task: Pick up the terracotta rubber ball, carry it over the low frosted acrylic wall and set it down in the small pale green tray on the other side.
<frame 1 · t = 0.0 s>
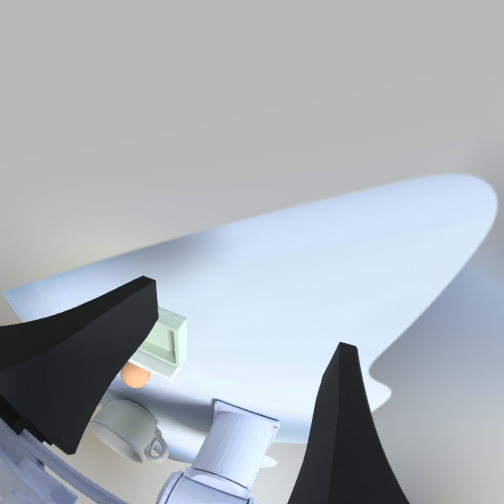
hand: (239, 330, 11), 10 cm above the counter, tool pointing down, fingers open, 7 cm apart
teacup: (147, 413, 44), on the counter
ball: (135, 373, 33), point 2 cm above the counter
tray: (161, 328, 30), on the counter
wall: (156, 347, 32), on the counter
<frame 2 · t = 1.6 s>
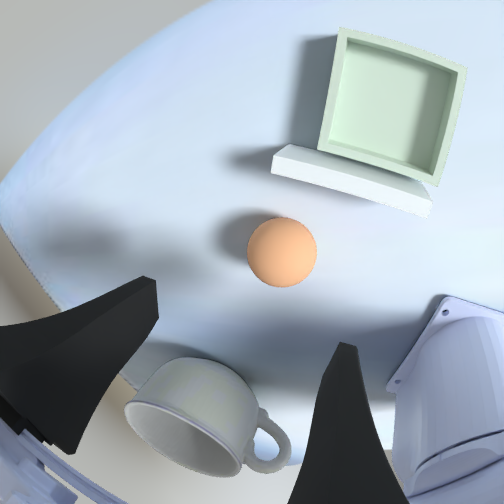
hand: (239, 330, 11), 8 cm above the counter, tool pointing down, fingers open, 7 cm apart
teacup: (232, 384, 27), on the counter
ball: (281, 252, 16), point 2 cm above the counter
tray: (390, 103, 12), on the counter
wall: (354, 168, 15), on the counter
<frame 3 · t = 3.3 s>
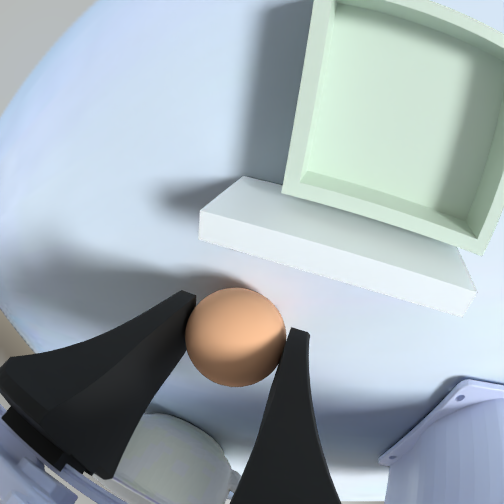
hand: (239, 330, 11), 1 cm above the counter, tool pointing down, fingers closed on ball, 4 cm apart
teacup: (203, 439, 22), on the counter
ball: (235, 337, 11), point 2 cm above the counter, touching gripper
tray: (411, 109, 7), on the counter
wall: (348, 215, 9), on the counter
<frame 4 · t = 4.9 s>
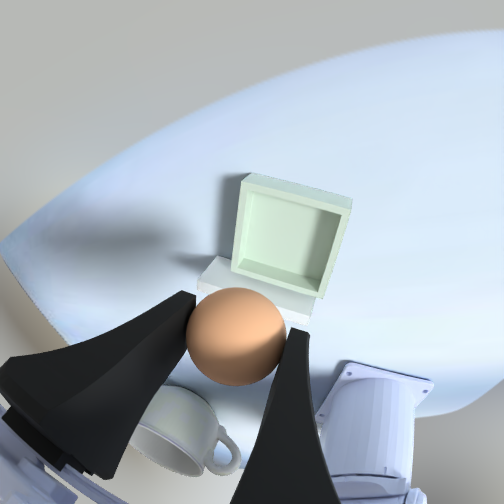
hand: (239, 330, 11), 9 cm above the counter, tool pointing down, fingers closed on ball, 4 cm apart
teacup: (200, 405, 33), on the counter
ball: (236, 336, 11), point 9 cm above the counter, touching gripper
tray: (291, 230, 18), on the counter
wall: (265, 275, 21), on the counter
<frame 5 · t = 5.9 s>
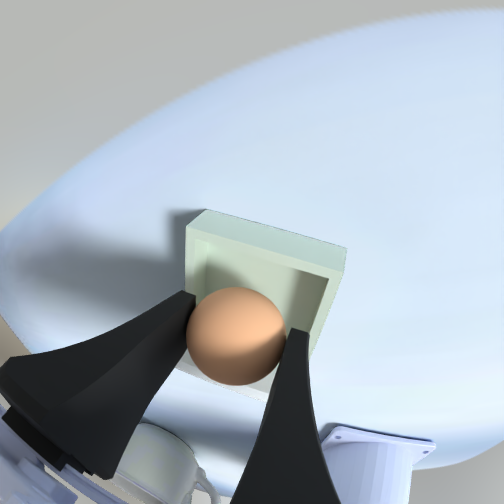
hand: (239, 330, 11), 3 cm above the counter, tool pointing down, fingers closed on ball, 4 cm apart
teacup: (179, 443, 28), on the counter
ball: (236, 336, 11), point 3 cm above the counter, touching gripper
tray: (263, 286, 14), on the counter
wall: (233, 335, 16), on the counter
when the fingers open (3 cm above the counter, at t = 6.6 s): ball stays where it is, resting on tray.
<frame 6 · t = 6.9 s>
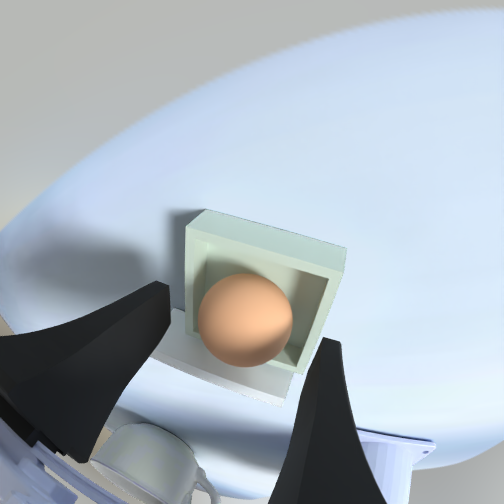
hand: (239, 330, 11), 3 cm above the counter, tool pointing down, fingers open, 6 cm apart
teacup: (179, 443, 28), on the counter
ball: (245, 320, 12), point 2 cm above the counter, touching tray
tray: (262, 286, 14), on the counter
wall: (233, 335, 16), on the counter
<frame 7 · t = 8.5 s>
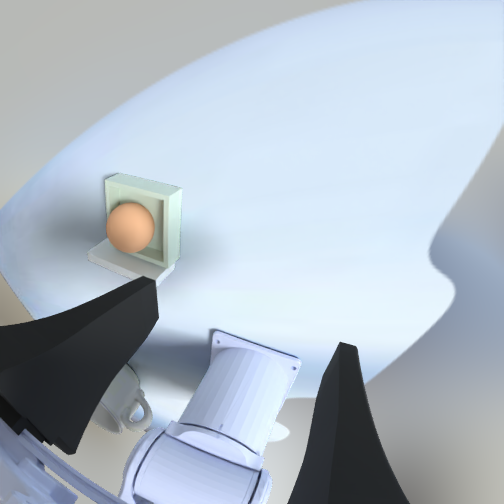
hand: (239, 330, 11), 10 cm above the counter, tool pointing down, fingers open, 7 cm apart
teacup: (128, 371, 38), on the counter
ball: (130, 227, 21), point 2 cm above the counter, touching tray
tray: (148, 215, 23), on the counter
wall: (139, 251, 25), on the counter
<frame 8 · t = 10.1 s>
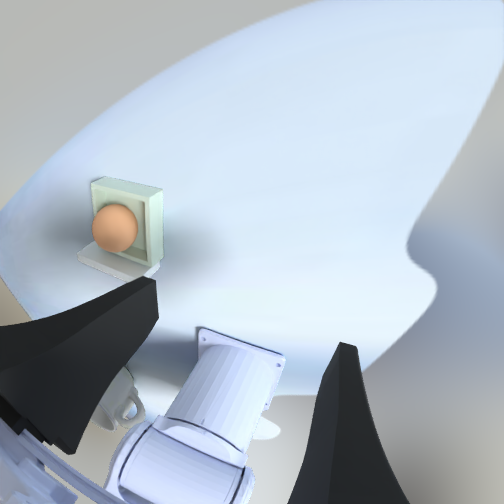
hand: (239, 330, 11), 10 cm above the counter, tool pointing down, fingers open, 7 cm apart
teacup: (123, 370, 38), on the counter
ball: (114, 228, 22), point 2 cm above the counter, touching tray
tray: (133, 216, 23), on the counter
wall: (127, 251, 26), on the counter
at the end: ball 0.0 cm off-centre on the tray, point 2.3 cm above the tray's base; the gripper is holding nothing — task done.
